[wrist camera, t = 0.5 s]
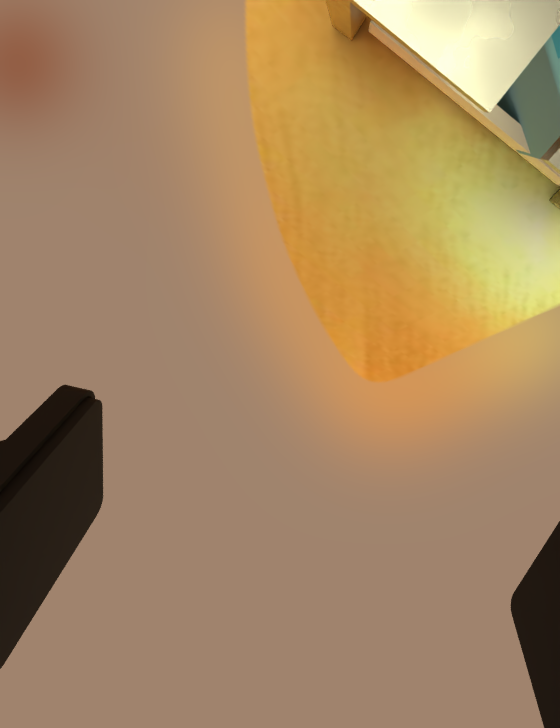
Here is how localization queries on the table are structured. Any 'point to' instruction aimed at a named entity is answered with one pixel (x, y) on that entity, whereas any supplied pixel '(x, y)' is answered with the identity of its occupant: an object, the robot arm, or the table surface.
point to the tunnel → (464, 41)
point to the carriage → (470, 105)
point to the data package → (537, 98)
